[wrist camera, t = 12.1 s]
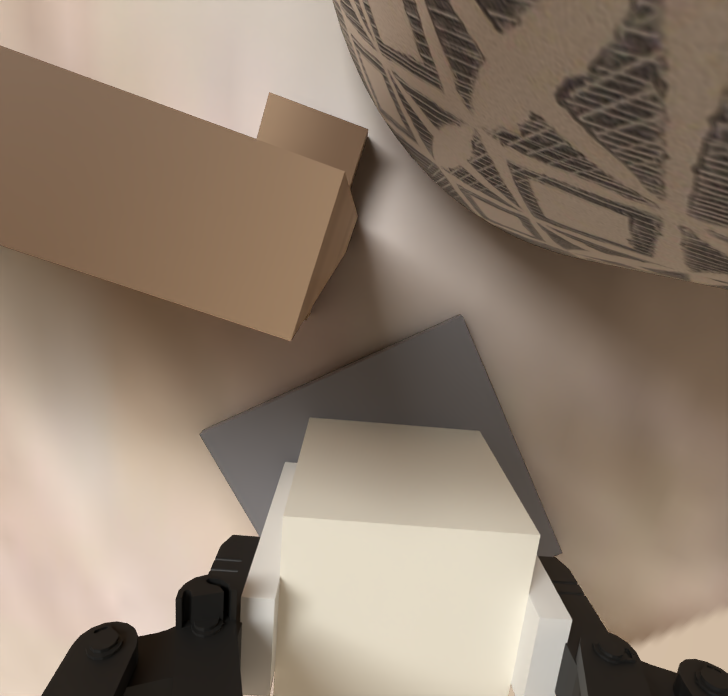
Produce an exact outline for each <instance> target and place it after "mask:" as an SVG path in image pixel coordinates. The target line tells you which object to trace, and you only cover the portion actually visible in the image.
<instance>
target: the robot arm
mask: <svg viewBox="0 0 728 696" xmlns="http://www.w3.org/2000/svg"><path fill="white" fill-rule="evenodd" d="M296 466H297V463H291V462H285V464H284V467H283V470H282V473H281V476H280V479H279V482H278V485H277V488H276V491H275V494H274V497H273V500H272V504H271V507H270V510H269V513H268V516H267V519H266V522H265V525H264V528H263V531H262V534H261V537H254V536H241V535H232V536H231V537H230V538H229V539H228V540H227V541H225V542H224V543H223V544H222V545H221V547H220V549H219V551H218V553H217V556H216V558H215V560H214V562H213V565H212V567H211V571H210V572H209V574H208V575H204V576H200V577H196V578H194V579H192V580H190V581H189V582H187V583H185V584H184V585H183V586H182V588H181V589H180V590H179V591H178V594H177V597H176V626H175V627H173V628H170V629H168V630H166V631H162V632H159V633H154V634H149V635H144V636H139V637H138V635H137V632H136V630H135V628H133V627H132V626H131V625H129V624H128V623H123V622H109V623H103V624H101V625H98V626H96V627H93V628H91V629H89V630H88V631H86V632H85V633H83V634H82V635H81V636H80V637H79V638H78V639H77V640H76V641H75V642H74V644H73V645H72V646H71V648H70V649H69V651H68V653H67V654H66V656H65V658H64V659H63V661H62V663H61V664H60V666H59V667H58V669H57V671H56V672H55V674H54V676H53V677H52V679H51V681H50V682H49V684H48V686H47V687H46V689H45V690H44V692H43V694H42V695H41V696H243V695H255V696H270V692H271V687H272V682H273V677H274V671H275V661H276V643H277V625H278V606H279V588H280V562H281V543H282V524H283V514H284V510H285V507H286V503H287V499H288V496H289V492H290V488H291V485H292V481H293V477H294V473H295V470H296ZM511 686H512V689H513V692H514V695H515V696H555V695H556V696H728V673H726V672H725V671H724V670H722V669H721V668H719V667H716V666H714V665H712V664H710V663H708V662H705V661H701V660H697V659H686V660H684V661H683V662H681V663H680V665H679V668H678V672H677V673H675V672H672V671H669V670H666V669H662V668H659V667H656V666H653V665H650V664H648V663H645V662H643V661H641V660H640V658H639V657H638V655H637V653H636V651H635V650H634V649H633V648H632V647H631V646H630V645H629V644H628V643H627V642H625V641H624V640H622V639H621V638H619V637H618V636H616V635H614V634H611V633H609V632H608V631H607V630H606V628H605V627H604V625H603V623H602V622H601V620H600V618H599V617H598V615H597V614H596V612H595V610H594V609H593V607H592V605H591V604H590V602H589V601H588V599H587V597H586V596H584V593H583V591H582V589H581V588H580V586H579V585H577V581H576V580H575V578H574V576H573V575H572V573H571V571H570V570H569V569H568V568H567V567H566V566H565V565H564V564H563V563H561V562H560V561H559V560H558V559H557V558H556V557H545V556H537V555H536V560H535V565H534V570H533V575H532V580H531V585H530V590H529V595H528V600H527V605H526V610H525V615H524V620H523V625H522V630H521V635H520V641H519V646H518V651H517V656H516V661H515V666H514V671H513V676H512V681H511Z"/></svg>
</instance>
